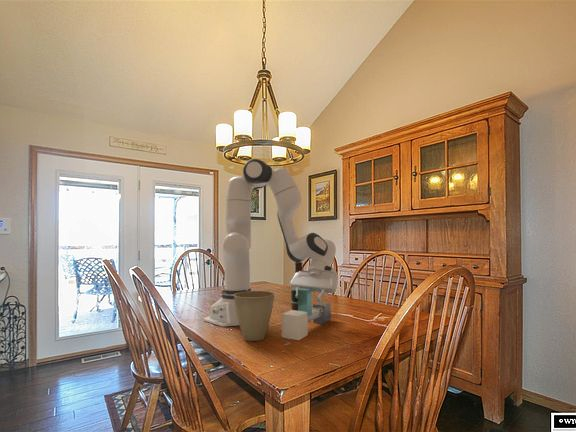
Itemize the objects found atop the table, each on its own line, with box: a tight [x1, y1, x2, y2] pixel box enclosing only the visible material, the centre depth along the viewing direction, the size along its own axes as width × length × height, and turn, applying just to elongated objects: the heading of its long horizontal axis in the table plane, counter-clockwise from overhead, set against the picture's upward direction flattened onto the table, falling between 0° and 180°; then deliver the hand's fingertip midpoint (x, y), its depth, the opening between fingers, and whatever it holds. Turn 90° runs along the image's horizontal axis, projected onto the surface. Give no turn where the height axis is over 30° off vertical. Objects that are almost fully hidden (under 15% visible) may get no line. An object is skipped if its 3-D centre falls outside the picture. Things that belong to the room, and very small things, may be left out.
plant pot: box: [234, 290, 275, 342], centre depth 117 cm, size 15×15×16 cm
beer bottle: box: [290, 261, 303, 311], centre depth 158 cm, size 8×8×24 cm
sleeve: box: [312, 301, 332, 325], centre depth 138 cm, size 5×7×8 cm
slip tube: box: [298, 288, 323, 323], centre depth 126 cm, size 4×22×12 cm, turn 148°
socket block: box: [281, 309, 309, 341], centre depth 118 cm, size 7×7×8 cm
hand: (307, 298), depth 128 cm, fingers open, 8 cm apart
